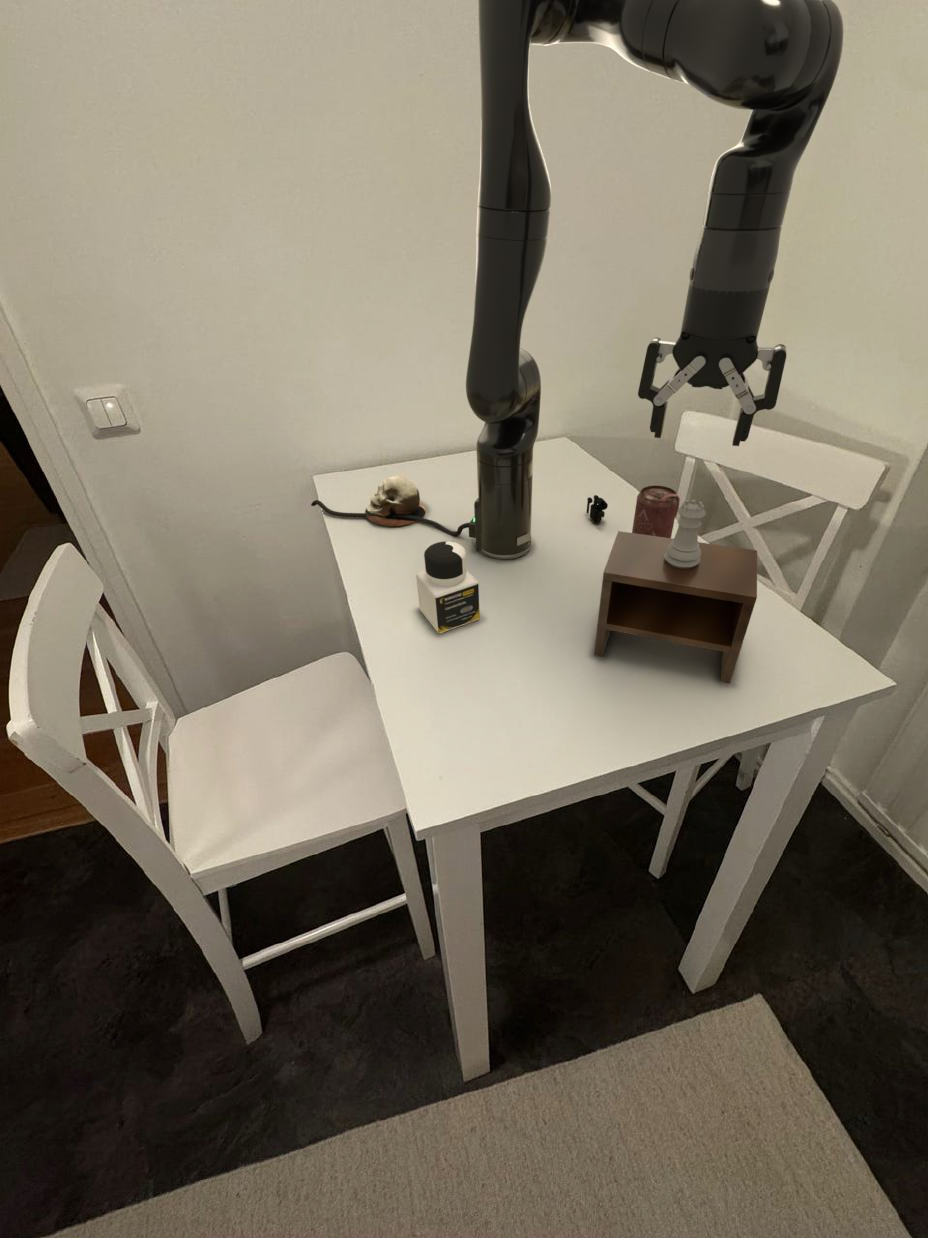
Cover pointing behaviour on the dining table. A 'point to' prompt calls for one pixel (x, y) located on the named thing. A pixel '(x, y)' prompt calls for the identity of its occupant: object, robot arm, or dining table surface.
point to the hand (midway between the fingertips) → (695, 439)
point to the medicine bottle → (447, 587)
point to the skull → (395, 502)
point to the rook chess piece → (686, 537)
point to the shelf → (678, 596)
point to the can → (655, 511)
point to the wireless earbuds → (596, 509)
